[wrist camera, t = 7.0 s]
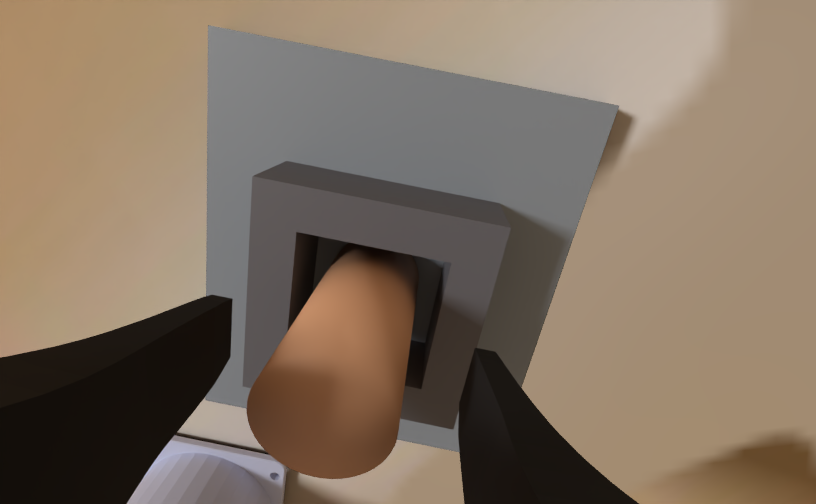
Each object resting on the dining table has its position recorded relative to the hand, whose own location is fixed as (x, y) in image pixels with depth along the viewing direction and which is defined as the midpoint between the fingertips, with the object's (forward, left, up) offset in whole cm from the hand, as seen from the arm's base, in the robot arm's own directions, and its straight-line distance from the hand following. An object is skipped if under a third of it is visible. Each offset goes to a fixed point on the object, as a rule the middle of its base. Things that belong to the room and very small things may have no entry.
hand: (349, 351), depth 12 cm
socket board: (0, 0, -6) cm, 6 cm away
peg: (0, 0, -5) cm, 5 cm away
